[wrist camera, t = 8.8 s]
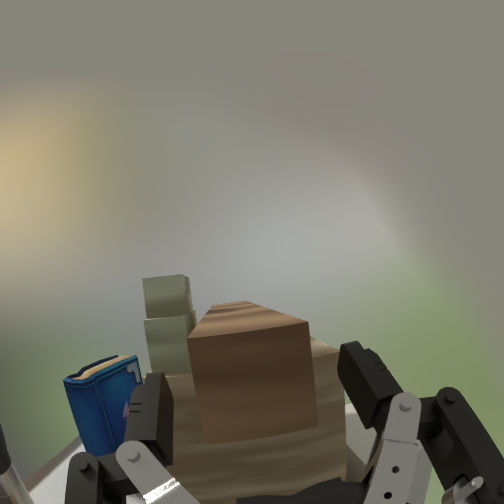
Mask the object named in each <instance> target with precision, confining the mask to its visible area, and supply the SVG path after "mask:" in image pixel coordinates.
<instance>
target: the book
mask: <svg viewBox="0 0 504 504" xmlns="http://www.w3.org/2000/svg"><path fill="white" fill-rule="evenodd" d="M63 382H64V386H65V390H66V393H67V397H68V400H69V404H70V407H71V410H72V413H73V417H74V420H75V422H76V425H77V428H78V431H79V434H80V437H81V439H82V442H83V444H84V447H85V450H86V452H88V453H91V454H93V455H94V456H95V457H98V456H103V455H107V454H111V453H113V452H115V451H117V449H118V448H119V446H120V445H121V444H123V442H124V437H125V430H126V423H127V417H128V413H129V411H128V410H129V405H130V399H131V393H132V392H133V390H134V389H135V387H136V386H137V385H143V382H142V377H141V372H140V368H139V363H138V358H137V356H135V355H134V356H132V357H130V356H127V355H125V356H121V357H118V355H116V356H112V357H109V358H105V359H102V360H99V361H97V362H95V363H92V364H90V365H88V366H86V367H84V368H82V369H81V370H80V371H79V372H78V373H77V374H73V375H70V376H68V377H66V378H65V379H64V380H63Z"/></svg>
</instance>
